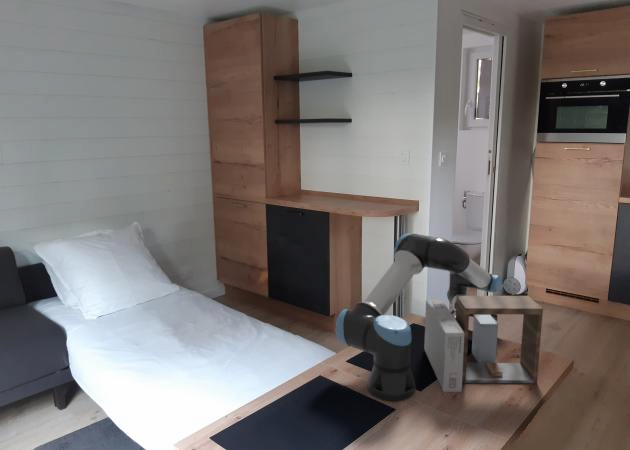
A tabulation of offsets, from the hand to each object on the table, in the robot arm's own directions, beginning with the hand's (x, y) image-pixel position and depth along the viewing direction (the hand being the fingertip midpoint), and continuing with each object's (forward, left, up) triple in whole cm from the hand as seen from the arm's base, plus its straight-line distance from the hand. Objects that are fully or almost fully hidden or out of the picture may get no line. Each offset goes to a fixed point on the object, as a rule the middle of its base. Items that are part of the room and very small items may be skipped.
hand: (477, 325), depth 187 cm
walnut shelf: (0, -22, -8) cm, 23 cm away
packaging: (-17, -18, -9) cm, 27 cm away
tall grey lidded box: (0, -10, -8) cm, 13 cm away
